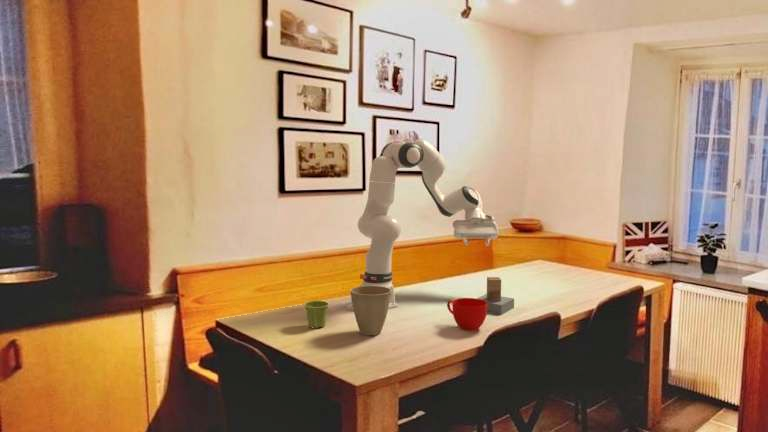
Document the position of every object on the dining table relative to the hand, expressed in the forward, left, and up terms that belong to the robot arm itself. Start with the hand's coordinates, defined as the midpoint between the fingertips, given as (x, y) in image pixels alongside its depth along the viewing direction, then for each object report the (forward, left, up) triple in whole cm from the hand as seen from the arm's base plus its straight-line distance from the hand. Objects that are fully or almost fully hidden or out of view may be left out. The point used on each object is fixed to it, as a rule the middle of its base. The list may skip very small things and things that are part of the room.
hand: (477, 244), depth 256 cm
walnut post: (-13, -14, -20) cm, 28 cm away
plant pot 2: (-69, +9, -25) cm, 73 cm away
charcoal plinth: (-13, -14, -24) cm, 31 cm away
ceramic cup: (-43, -16, -25) cm, 52 cm away
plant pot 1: (-75, +30, -25) cm, 84 cm away
